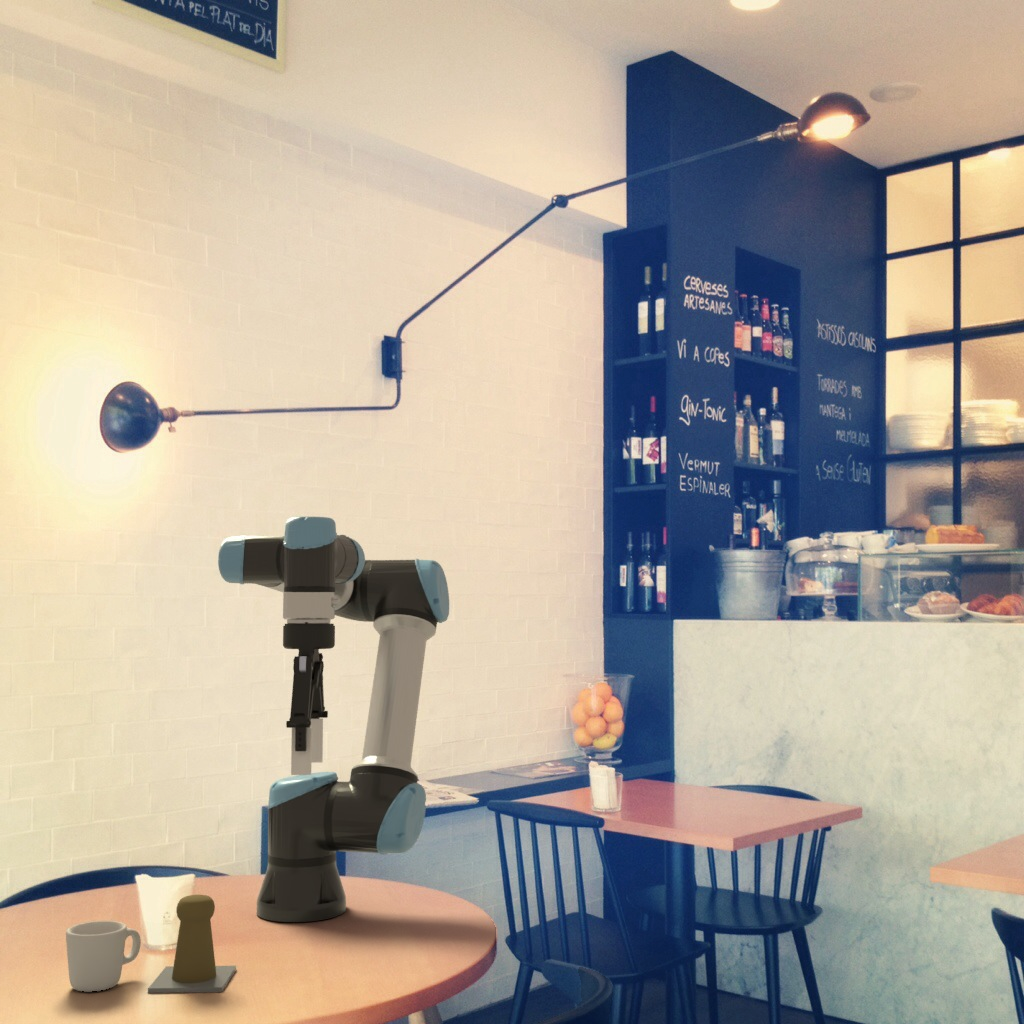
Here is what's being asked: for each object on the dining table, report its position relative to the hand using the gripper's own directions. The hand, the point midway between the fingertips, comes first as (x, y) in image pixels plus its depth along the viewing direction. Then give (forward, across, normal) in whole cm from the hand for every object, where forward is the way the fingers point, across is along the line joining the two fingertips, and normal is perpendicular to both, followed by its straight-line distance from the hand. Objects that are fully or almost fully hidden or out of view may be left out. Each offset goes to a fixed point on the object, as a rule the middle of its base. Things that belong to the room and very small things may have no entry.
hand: (307, 768), depth 175 cm
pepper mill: (+28, -4, +15) cm, 32 cm away
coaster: (+29, -4, +15) cm, 33 cm away
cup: (+29, -5, +27) cm, 40 cm away
